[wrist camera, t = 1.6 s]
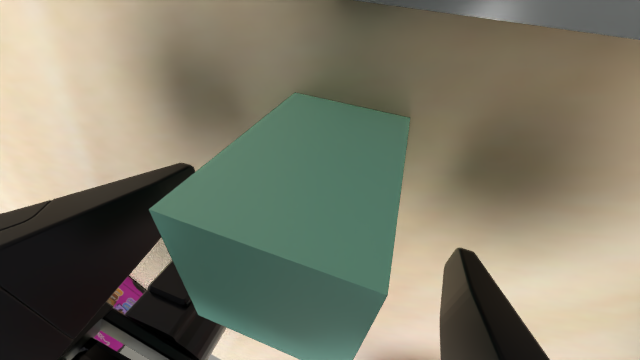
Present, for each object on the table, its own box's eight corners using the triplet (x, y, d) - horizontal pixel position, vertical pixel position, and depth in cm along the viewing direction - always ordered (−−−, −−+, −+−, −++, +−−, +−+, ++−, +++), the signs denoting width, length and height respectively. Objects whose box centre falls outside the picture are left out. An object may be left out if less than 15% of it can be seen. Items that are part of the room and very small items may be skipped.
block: (380, 206, 12) (343, 378, 7) (292, 180, 13) (198, 314, 8) (410, 117, 9) (387, 295, 4) (295, 92, 10) (148, 209, 5)
